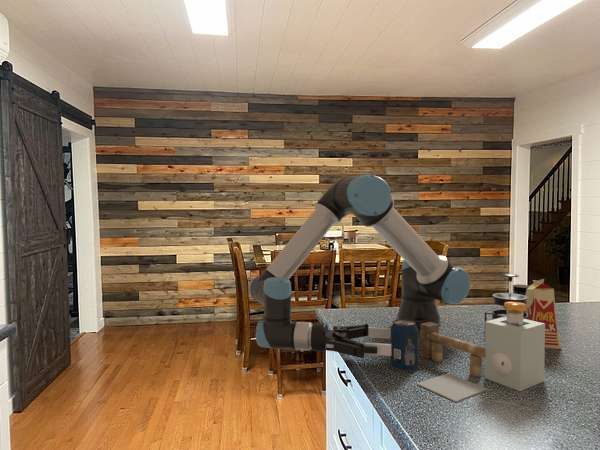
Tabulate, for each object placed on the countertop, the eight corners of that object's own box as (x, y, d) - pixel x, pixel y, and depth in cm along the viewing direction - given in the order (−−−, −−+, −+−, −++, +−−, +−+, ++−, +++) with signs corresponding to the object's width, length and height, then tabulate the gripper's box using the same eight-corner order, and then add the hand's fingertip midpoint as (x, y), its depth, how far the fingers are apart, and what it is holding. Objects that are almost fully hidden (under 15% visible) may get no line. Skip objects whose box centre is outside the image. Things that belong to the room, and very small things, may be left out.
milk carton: (561, 348, 126) (563, 280, 125) (527, 347, 128) (528, 279, 127) (550, 339, 135) (551, 275, 134) (518, 337, 137) (519, 274, 136)
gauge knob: (499, 332, 105) (499, 303, 104) (511, 329, 107) (511, 300, 107) (518, 337, 101) (519, 307, 100) (530, 334, 103) (530, 304, 103)
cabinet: (479, 380, 105) (479, 322, 104) (508, 369, 111) (509, 315, 110) (514, 393, 97) (515, 332, 96) (544, 381, 103) (545, 323, 103)
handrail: (419, 355, 122) (420, 324, 121) (430, 352, 124) (430, 321, 123) (481, 379, 105) (481, 342, 105) (492, 375, 107) (492, 339, 107)
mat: (417, 384, 102) (417, 383, 102) (447, 374, 108) (447, 373, 108) (456, 402, 93) (456, 401, 93) (487, 390, 99) (487, 388, 99)
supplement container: (510, 313, 166) (511, 286, 166) (514, 309, 172) (514, 283, 171) (530, 316, 162) (530, 288, 162) (533, 312, 167) (533, 285, 167)
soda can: (400, 360, 118) (400, 317, 118) (422, 367, 113) (423, 321, 113) (385, 367, 113) (385, 322, 113) (408, 374, 108) (408, 327, 108)
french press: (531, 353, 122) (532, 273, 121) (530, 364, 114) (531, 278, 113) (486, 347, 128) (487, 270, 127) (482, 357, 120) (483, 275, 119)
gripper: (320, 336, 130) (392, 340, 126) (302, 367, 106) (390, 373, 101) (320, 311, 130) (392, 315, 125) (302, 337, 106) (390, 342, 101)
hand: (391, 341), depth 113 cm, fingers open, 13 cm apart
